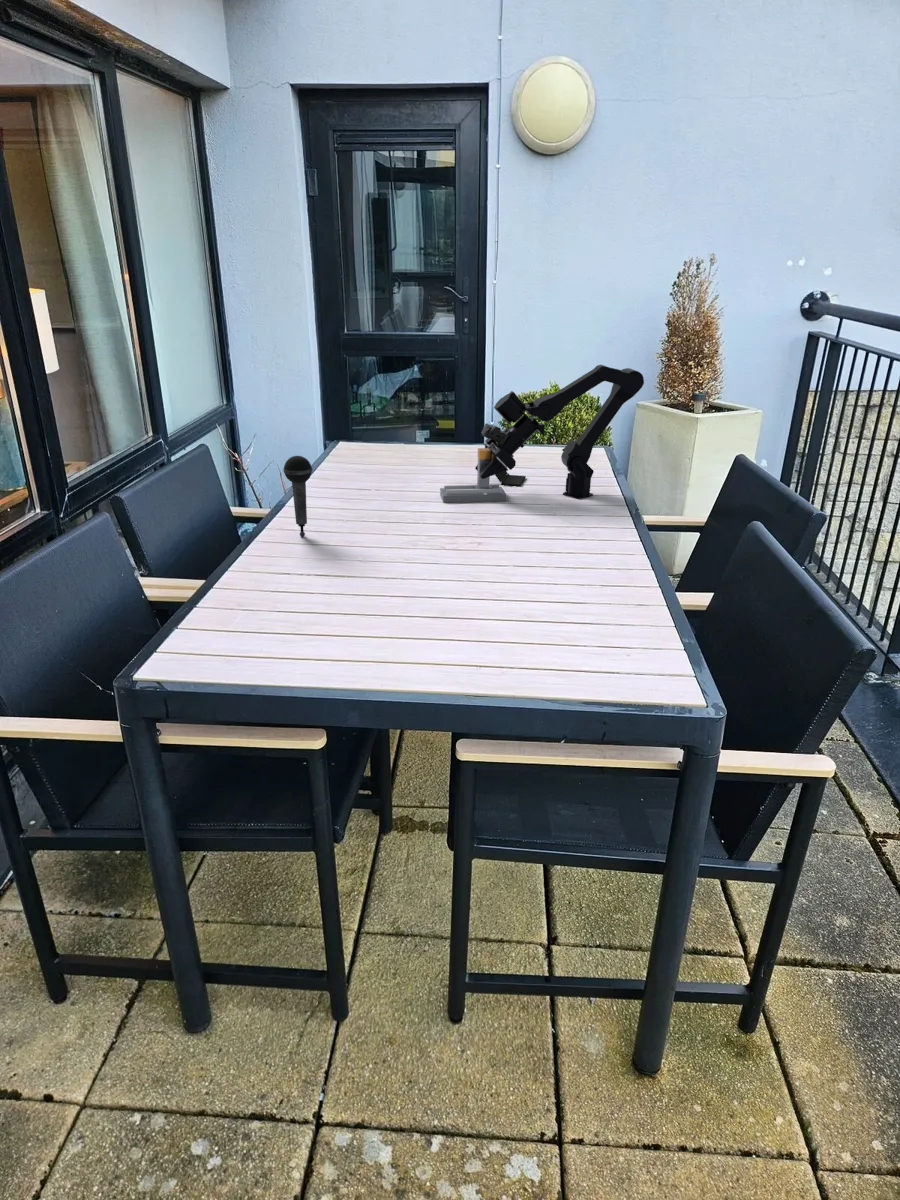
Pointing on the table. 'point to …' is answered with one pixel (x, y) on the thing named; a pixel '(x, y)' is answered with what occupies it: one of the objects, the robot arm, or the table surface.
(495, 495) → the fader track
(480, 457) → the block
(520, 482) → the handheld gaming console
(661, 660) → the table surface
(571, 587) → the table surface
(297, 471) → the microphone
